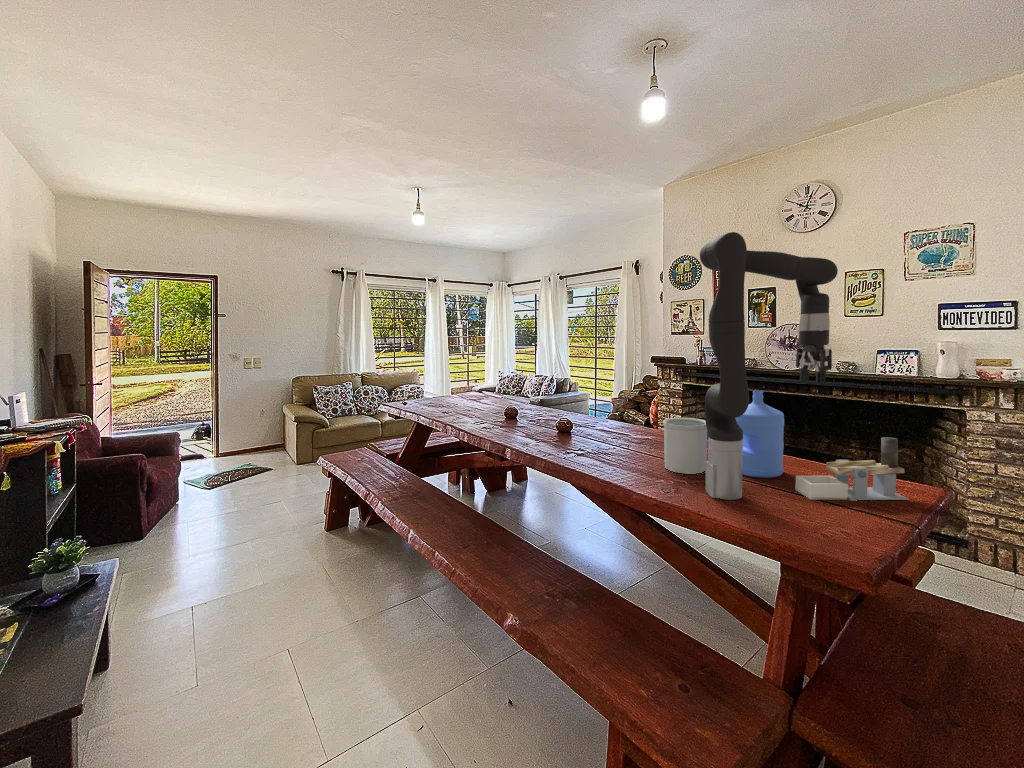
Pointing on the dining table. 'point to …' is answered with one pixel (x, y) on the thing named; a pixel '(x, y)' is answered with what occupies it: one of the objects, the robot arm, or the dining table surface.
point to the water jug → (762, 439)
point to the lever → (872, 461)
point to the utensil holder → (685, 445)
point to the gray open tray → (821, 488)
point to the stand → (879, 491)
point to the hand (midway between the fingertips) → (812, 383)
